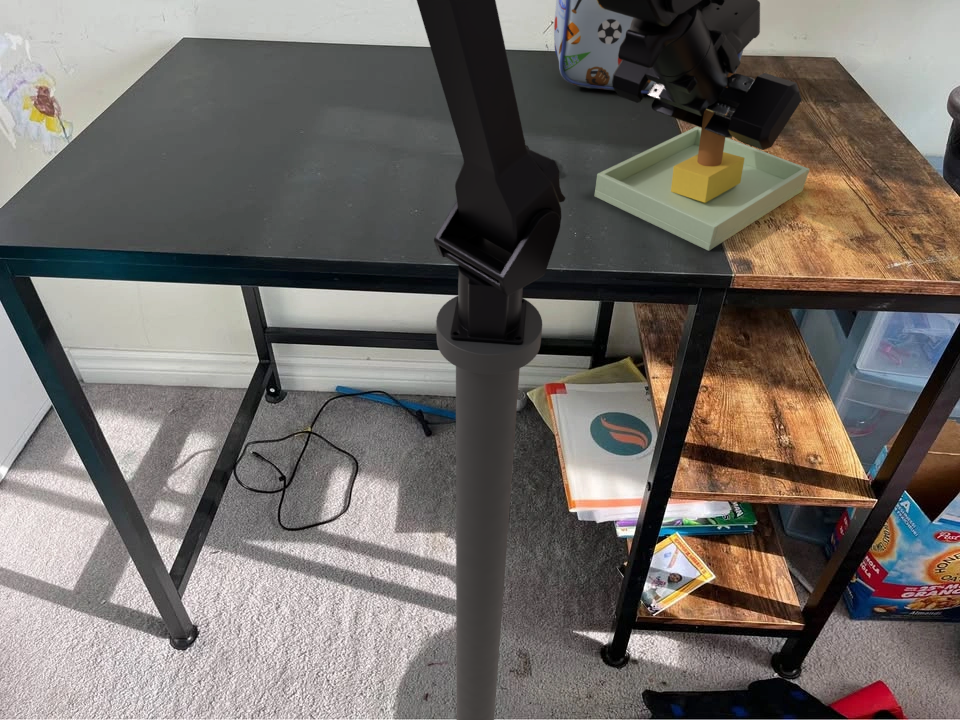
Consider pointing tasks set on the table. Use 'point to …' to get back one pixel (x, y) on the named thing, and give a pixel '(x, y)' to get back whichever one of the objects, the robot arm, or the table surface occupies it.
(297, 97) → the table surface
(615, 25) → the lunch box
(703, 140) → the sponge wand
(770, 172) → the tray
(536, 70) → the table surface
